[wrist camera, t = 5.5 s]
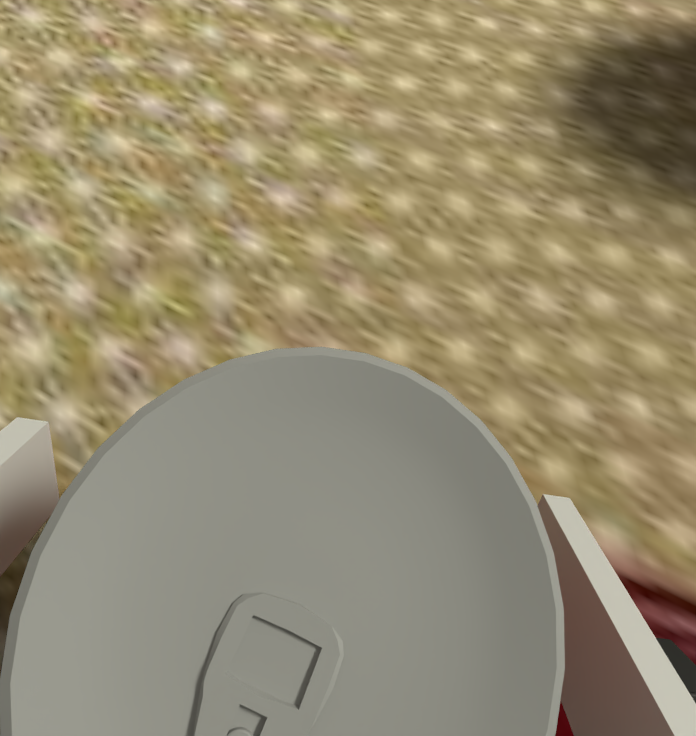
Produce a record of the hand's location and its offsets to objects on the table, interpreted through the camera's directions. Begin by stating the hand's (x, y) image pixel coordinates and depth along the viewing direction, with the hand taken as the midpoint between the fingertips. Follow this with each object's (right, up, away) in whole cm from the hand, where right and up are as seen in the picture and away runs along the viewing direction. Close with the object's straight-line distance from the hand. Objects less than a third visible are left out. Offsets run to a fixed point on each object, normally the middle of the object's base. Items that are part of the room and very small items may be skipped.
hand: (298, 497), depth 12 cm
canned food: (-1, -3, +4) cm, 6 cm away
